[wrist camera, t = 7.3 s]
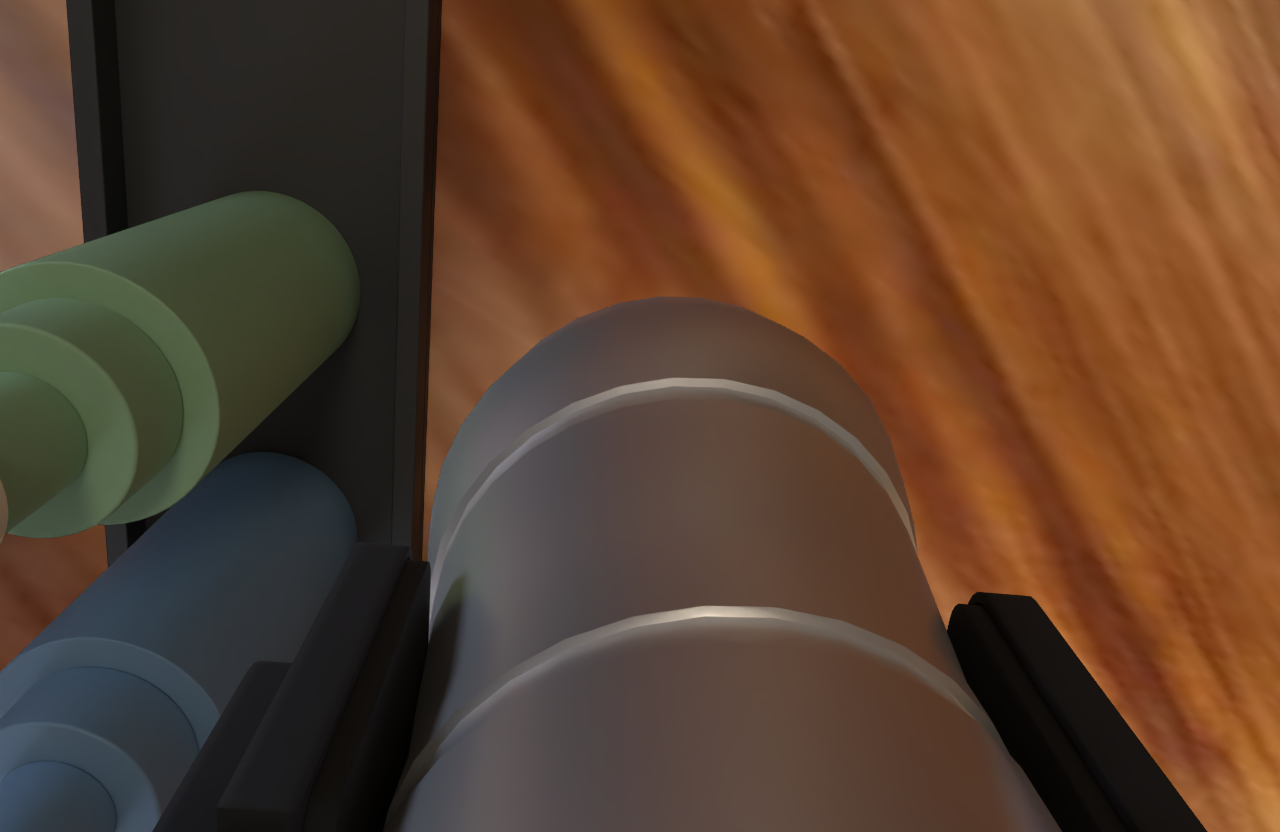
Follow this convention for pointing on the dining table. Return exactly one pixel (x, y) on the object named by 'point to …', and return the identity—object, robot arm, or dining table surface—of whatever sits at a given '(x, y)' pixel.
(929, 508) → the dining table surface
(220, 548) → the blue bottle
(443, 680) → the silver metal bottle
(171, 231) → the green bottle
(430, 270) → the tray
